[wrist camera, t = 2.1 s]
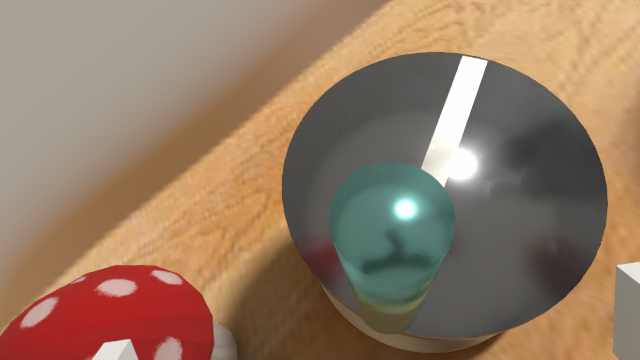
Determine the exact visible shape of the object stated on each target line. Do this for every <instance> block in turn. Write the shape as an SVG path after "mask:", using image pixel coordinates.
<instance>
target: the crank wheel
mask: <svg viewBox="0 0 640 360" xmlns="http://www.w3.org/2000/svg"><path fill="white" fill-rule="evenodd" d="M282 200H283V206H284V213H285V218H286V221H287V224H288V228H289V231H290V234H291V236H292V238H293V240H294V243H295V245H296V247H297V249H298V251H299V253H300V254H301V256H302V257H303V259H304V261H305V262H306V264H307V265H308V267H309V268H310V270H311V271H312V273H313V274H314V276H315V277H316V278H317V280H318V281H319V282H320V283H321V284H322V285H323V287H324V288H325V289H326V290H327V291H328V292H329V293H330V294H331V295H332V296H333V297H334V298H336V299H337V300H338V301H339V302H340V303H341V304H342V305H343V306H345V307H346V308H348V309H349V310H351V311H352V312H354V313H355V314H357V315H358V316H359V317H361V318H362V319H363V321H364V322H365V323H366V324H367V325H368V326H369V327H370V328H371V329H373V330H374V331H376V332H379V333H382V334H389V335H391V334H401V335H404V336H409V337H414V338H419V339H423V340H435V341H463V340H473V339H478V338H483V337H488V336H493V335H496V334H499V333H502V332H504V331H507V330H510V329H513V328H515V327H518V326H520V325H522V324H524V323H526V322H528V321H530V320H532V319H534V318H536V317H537V316H539V315H541V314H543V313H545V312H546V311H548V310H549V309H550V308H552V307H553V306H554V305H556V304H557V303H558V302H560V301H561V300H562V299H564V298H565V297H566V296H567V294H568V293H569V292H570V291H571V290H572V289H573V288H574V287H575V286H576V285H577V284H578V283H579V282H580V280H581V279H582V277H583V276H584V275H585V273H586V272H587V270H588V269H589V267H590V266H591V264H592V262H593V260H594V258H595V256H596V253H597V251H598V249H599V247H600V245H601V241H602V237H603V234H604V230H605V226H606V218H607V208H608V200H607V185H606V180H605V176H604V171H603V167H602V164H601V161H600V158H599V156H598V153H597V151H596V148H595V146H594V144H593V142H592V140H591V139H590V137H589V135H588V133H587V131H586V130H585V128H584V127H583V126H582V124H581V123H580V122H579V120H578V119H577V118H576V116H575V115H574V114H573V113H572V111H571V110H570V109H569V108H568V107H567V106H566V105H565V104H564V103H563V102H562V101H561V100H560V99H559V98H558V97H556V96H555V95H554V94H553V93H551V92H550V91H549V90H548V89H547V88H545V87H544V86H542V85H541V84H539V83H538V82H536V81H535V80H533V79H532V78H530V77H528V76H526V75H524V74H523V73H521V72H519V71H517V70H515V69H513V68H510V67H508V66H505V65H502V64H500V63H497V62H495V61H491V60H487V59H484V58H480V57H476V56H471V55H465V54H459V53H446V52H426V53H415V54H407V55H401V56H397V57H393V58H388V59H385V60H382V61H379V62H376V63H373V64H370V65H368V66H366V67H364V68H362V69H360V70H357V71H355V72H353V73H352V74H350V75H348V76H347V77H345V78H344V79H342V80H340V81H339V82H338V83H336V84H335V85H334V86H332V87H331V88H330V89H329V90H327V91H326V92H325V93H324V94H323V95H322V96H321V97H320V98H319V99H318V100H317V101H316V102H315V103H314V104H313V106H312V107H311V108H310V109H309V111H308V112H307V113H306V114H305V116H304V117H303V119H302V121H301V122H300V124H299V126H298V127H297V129H296V131H295V133H294V135H293V137H292V140H291V142H290V144H289V147H288V151H287V154H286V158H285V161H284V168H283V175H282Z"/></svg>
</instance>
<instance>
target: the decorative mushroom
mask: <svg viewBox="0 0 640 360" xmlns="http://www.w3.org/2000/svg"><path fill="white" fill-rule="evenodd" d="M127 339H130V340H131V343H132V345H133V348H134V350H135V353H136V355H137V358H138V360H237V358H238V353H237V342H236V340H235V339H234V337H233V335H232V333H231V331H230V330H228V329H227V328H226V327H225V326H223V325H222V324H221V323H217V322H214V321H213V316H212V314H211V312H210V310H209V308H208V306H207V304H206V302H205V300H204V298H203V296H202V294H201V293H200V292H199V291H197V290H196V289H195V288H194V287H193V286H192V285H191V284H190V283H188V282H187V281H186V280H185V279H184V278H183V277H182V276H181V275H179V274H177V273H175V272H172V271H169V270H166V269H163V268H160V267H157V266H146V265H115V266H111V267H108V268H104V269H101V270H97V271H94V272H90V273H87V274H85V275H83V276H82V277H80V278H78V279H76V280H75V281H73V282H71V283H69V284H67V285H66V286H64V287H61V288H59V289H57V290H56V291H54V292H52V293H50V294H48V295H46V296H45V297H43V298H41V299H39V300H37V301H36V302H34V303H33V304H32V305H31V306H30V307H28V308H27V309H26V310H25V311H24V312H22V313H21V314H20V315H19V316H18V317H17V318H15V319H14V320H13V321H12V322H11V323H10V325H9V326H8V327H7V328H6V330H5V331H4V332H3V333H2V335H1V336H0V360H92V359H93V358H94V356H95V355H96V353H97V352H98V351H99V349H100V348H101V347H102V345H103V344H104V343H107V342H114V341H120V340H127Z"/></svg>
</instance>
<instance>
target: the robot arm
mask: <svg viewBox="0 0 640 360" xmlns="http://www.w3.org/2000/svg"><path fill="white" fill-rule="evenodd" d="M613 353H614V354H615V355H616V356H617V357H618V358H619V359H620V360H640V262H636V263H629V264H623V265H616V281H615V306H614V331H613ZM92 360H138V358H137V355H136V353H135V350H134V348H133V345H132V343H131V340H130V339H127V340H120V341H114V342H107V343H104V344H103V345H102V347H101V348H100V349H99V351H98V352H97V353H96V355H95V356H94V358H93V359H92Z"/></svg>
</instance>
